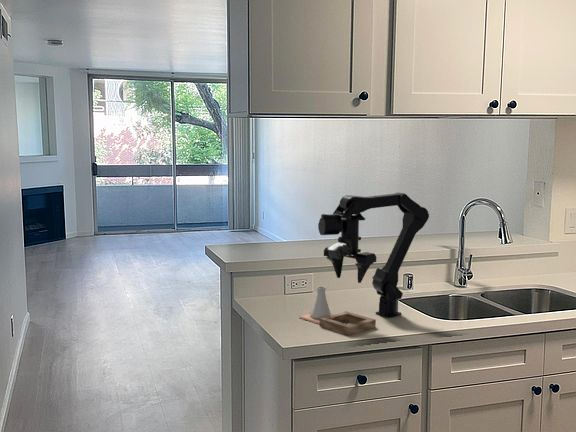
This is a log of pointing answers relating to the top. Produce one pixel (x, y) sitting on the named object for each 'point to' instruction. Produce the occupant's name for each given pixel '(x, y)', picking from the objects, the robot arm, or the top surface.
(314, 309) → the flask
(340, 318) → the walnut holder
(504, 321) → the top surface
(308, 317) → the terracotta coaster
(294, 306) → the top surface
